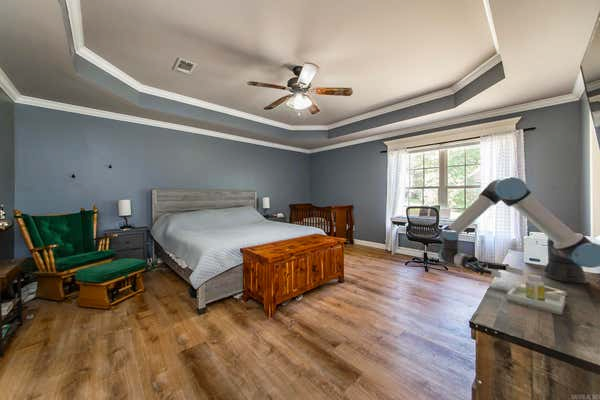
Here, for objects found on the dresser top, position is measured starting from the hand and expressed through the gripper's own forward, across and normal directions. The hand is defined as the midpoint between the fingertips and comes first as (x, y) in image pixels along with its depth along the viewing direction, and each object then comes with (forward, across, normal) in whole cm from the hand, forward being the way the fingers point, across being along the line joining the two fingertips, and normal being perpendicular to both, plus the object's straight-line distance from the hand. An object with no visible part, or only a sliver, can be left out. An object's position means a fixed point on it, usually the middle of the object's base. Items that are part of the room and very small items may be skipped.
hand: (511, 273), depth 101 cm
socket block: (+2, -16, -9) cm, 18 cm away
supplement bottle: (+8, 0, -8) cm, 12 cm away
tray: (+9, 0, -9) cm, 13 cm away
